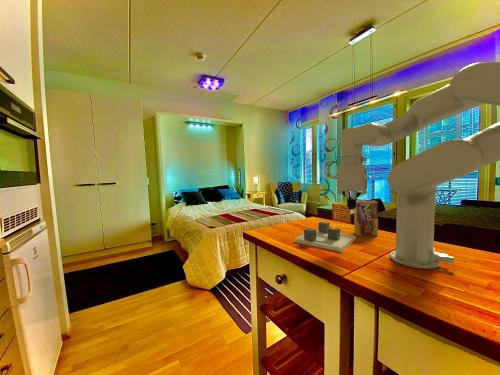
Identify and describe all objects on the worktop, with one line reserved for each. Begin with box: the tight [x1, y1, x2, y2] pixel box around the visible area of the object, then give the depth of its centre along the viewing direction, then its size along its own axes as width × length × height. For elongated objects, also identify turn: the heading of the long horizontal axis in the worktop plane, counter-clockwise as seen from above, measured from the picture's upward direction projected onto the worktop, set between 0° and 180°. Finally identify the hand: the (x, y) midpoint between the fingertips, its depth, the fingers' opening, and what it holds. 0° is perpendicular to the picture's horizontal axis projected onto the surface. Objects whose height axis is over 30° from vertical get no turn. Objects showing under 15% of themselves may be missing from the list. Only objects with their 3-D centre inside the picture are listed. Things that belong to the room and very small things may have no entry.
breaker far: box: [317, 221, 331, 233], centre depth 98 cm, size 4×3×4 cm
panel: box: [294, 228, 357, 253], centre depth 91 cm, size 19×18×2 cm
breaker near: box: [303, 227, 317, 241], centre depth 88 cm, size 4×3×4 cm
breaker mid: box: [328, 226, 341, 240], centre depth 88 cm, size 4×3×4 cm
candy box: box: [353, 200, 379, 236], centre depth 97 cm, size 9×4×15 cm, turn 79°
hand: (351, 208), depth 83 cm, fingers closed
